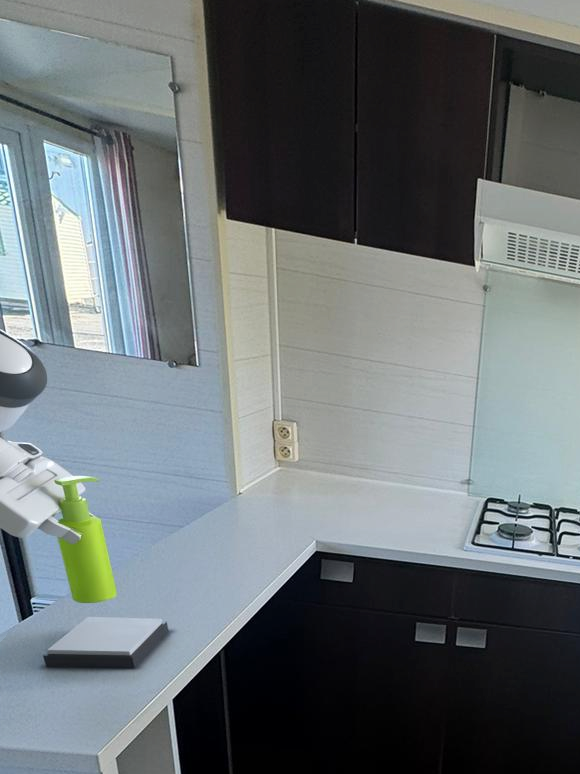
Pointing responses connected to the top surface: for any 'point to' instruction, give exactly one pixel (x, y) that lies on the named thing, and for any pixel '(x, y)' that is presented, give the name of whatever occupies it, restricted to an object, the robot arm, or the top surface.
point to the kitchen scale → (107, 643)
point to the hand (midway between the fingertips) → (87, 532)
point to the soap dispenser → (84, 547)
